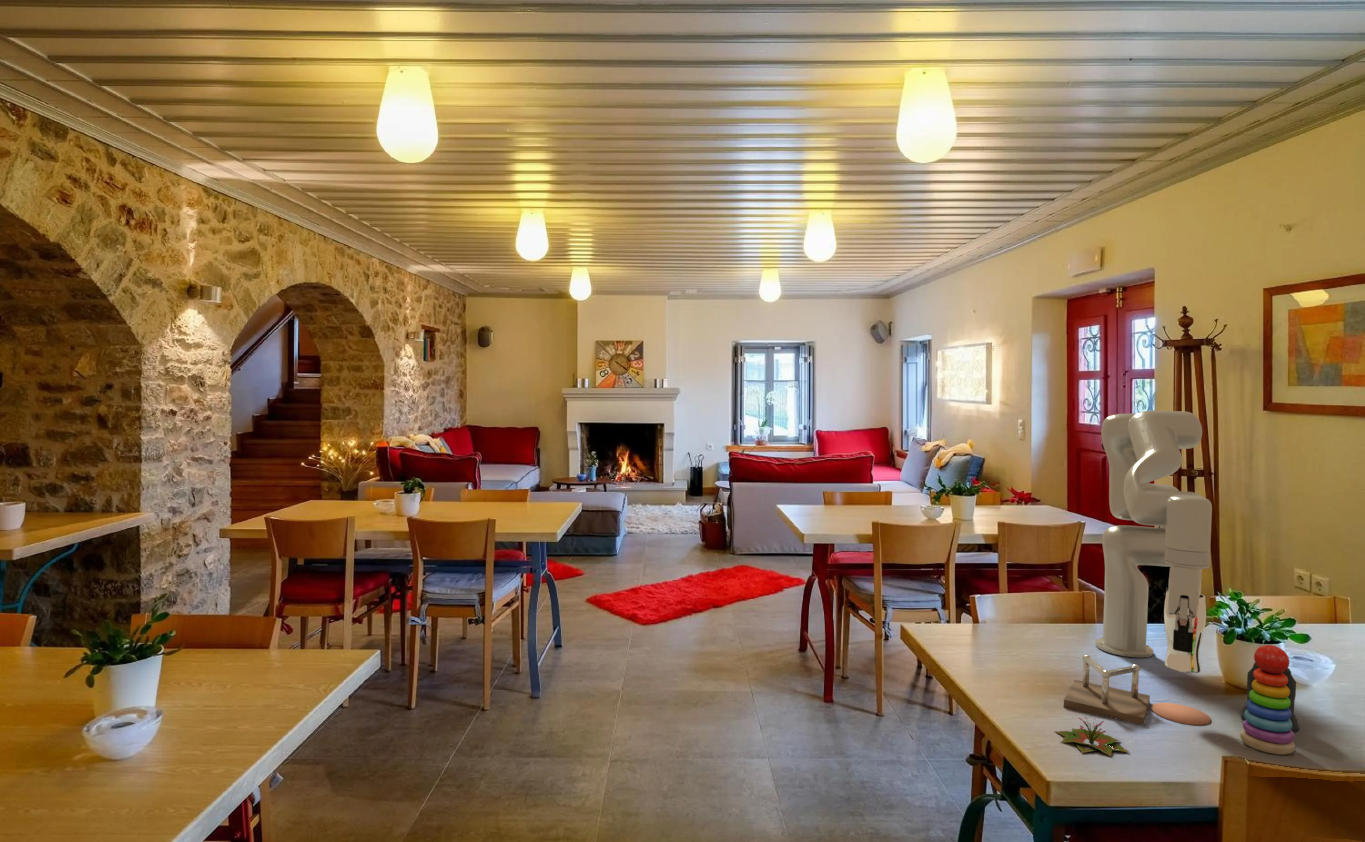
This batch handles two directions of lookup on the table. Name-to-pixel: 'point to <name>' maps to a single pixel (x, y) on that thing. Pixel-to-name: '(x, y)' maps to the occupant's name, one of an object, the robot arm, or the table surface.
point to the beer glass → (1191, 660)
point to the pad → (1181, 713)
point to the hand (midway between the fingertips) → (1183, 645)
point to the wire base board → (1117, 706)
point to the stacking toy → (1269, 704)
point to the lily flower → (1091, 739)
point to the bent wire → (1106, 674)
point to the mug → (1292, 688)
